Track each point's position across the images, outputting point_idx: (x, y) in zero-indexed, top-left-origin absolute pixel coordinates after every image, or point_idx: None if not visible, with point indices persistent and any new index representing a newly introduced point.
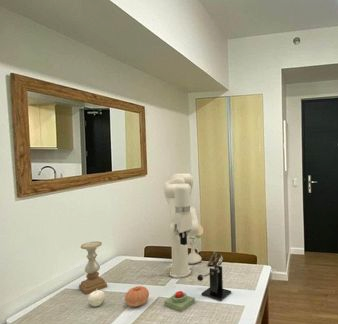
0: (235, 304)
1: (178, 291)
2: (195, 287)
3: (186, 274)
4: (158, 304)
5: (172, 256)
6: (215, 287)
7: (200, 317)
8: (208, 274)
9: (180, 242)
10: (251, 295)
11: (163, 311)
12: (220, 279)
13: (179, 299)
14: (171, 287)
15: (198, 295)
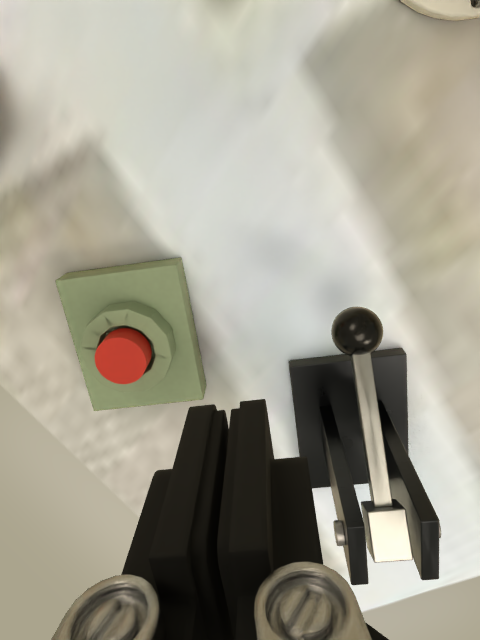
0: (323, 543)
1: (127, 341)
2: (340, 251)
3: (456, 14)
4: (45, 232)
5: None
6: (328, 472)
7: (141, 493)
8: (364, 441)
9: (155, 473)
10: (439, 554)
11: (35, 320)
12: (391, 493)
13: (103, 384)
14: (232, 93)
15: (275, 346)
